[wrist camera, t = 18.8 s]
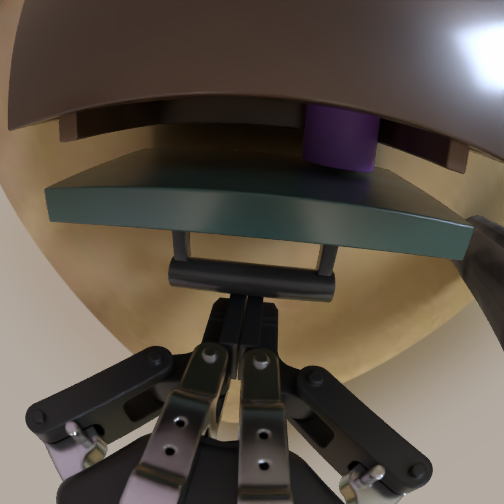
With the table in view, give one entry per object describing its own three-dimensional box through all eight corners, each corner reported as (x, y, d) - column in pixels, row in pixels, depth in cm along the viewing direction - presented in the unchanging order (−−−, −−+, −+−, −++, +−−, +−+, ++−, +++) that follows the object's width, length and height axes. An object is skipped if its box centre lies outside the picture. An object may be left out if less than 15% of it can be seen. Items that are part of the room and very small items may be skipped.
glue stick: (299, 153, 12) (361, 163, 12) (304, 164, 9) (383, 177, 9) (309, 11, 9) (372, 24, 8) (316, -15, 6) (394, 4, 6)
